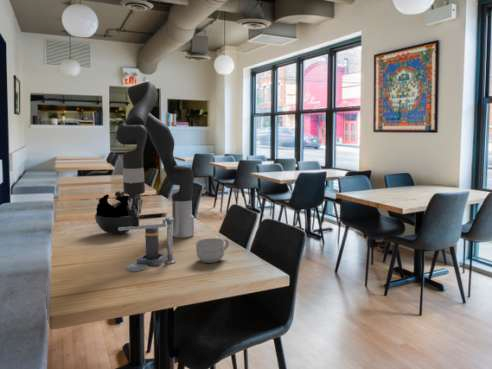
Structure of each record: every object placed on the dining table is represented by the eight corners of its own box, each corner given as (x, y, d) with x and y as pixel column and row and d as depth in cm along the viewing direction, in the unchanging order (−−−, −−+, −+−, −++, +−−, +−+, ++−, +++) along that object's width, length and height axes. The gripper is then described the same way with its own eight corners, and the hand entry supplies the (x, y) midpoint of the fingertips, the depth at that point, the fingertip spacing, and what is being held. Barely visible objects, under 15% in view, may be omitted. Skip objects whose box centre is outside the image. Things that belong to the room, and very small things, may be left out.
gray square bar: (172, 224, 164) (172, 217, 164) (174, 226, 161) (174, 218, 161) (118, 229, 156) (117, 221, 156) (119, 231, 153) (118, 223, 153)
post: (172, 260, 166) (172, 219, 164) (177, 262, 163) (176, 221, 161) (163, 261, 164) (162, 221, 162) (167, 264, 161) (166, 222, 159)
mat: (143, 263, 162) (143, 262, 162) (151, 268, 156) (151, 267, 156) (122, 266, 158) (122, 265, 158) (130, 272, 151) (130, 271, 151)
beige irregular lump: (110, 220, 240) (109, 188, 237) (130, 218, 245) (130, 187, 242) (116, 226, 226) (115, 192, 224) (137, 224, 231) (136, 190, 229)
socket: (145, 257, 170) (145, 252, 169) (167, 258, 168) (167, 253, 168) (136, 264, 161) (136, 259, 160) (160, 265, 160) (159, 260, 159)
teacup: (202, 266, 158) (201, 245, 157) (191, 259, 168) (191, 238, 167) (236, 261, 165) (236, 241, 164) (224, 254, 174) (224, 235, 173)
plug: (155, 258, 168) (155, 226, 166) (161, 261, 164) (160, 228, 162) (143, 260, 165) (142, 227, 163) (148, 264, 161) (148, 230, 159)
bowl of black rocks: (145, 235, 206) (144, 196, 203) (102, 241, 194) (101, 200, 192) (130, 227, 222) (129, 191, 220) (90, 232, 211) (89, 194, 208)
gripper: (128, 178, 163) (130, 222, 165) (117, 182, 150) (119, 231, 152) (148, 178, 163) (150, 222, 165) (139, 182, 150) (141, 231, 152)
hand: (135, 226), depth 159 cm, fingers closed
